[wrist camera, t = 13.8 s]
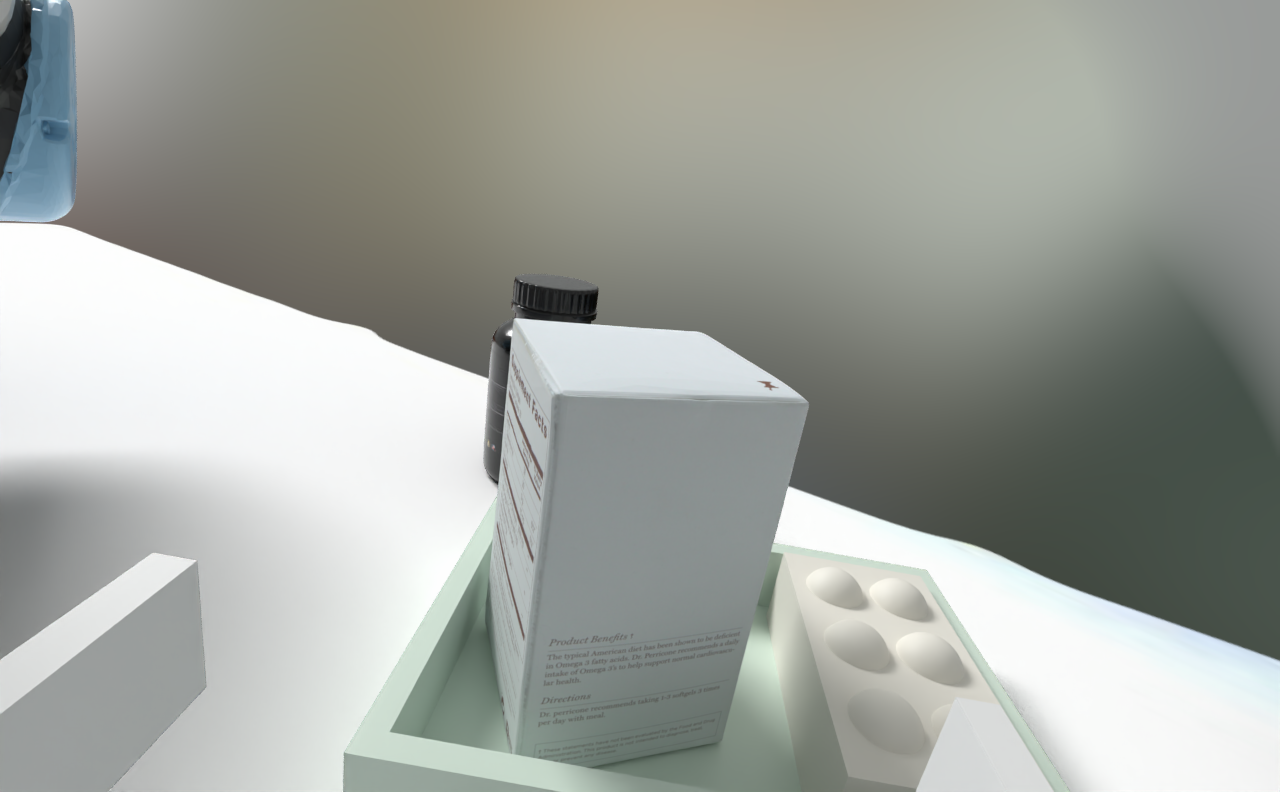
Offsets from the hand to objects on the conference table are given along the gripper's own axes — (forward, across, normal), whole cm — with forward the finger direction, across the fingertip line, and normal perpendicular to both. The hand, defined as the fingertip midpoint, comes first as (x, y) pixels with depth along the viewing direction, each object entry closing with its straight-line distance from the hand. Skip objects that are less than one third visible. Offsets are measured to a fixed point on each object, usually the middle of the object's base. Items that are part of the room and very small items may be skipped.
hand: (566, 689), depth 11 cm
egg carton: (+10, +11, -10) cm, 17 cm away
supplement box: (+10, 0, -9) cm, 13 cm away
